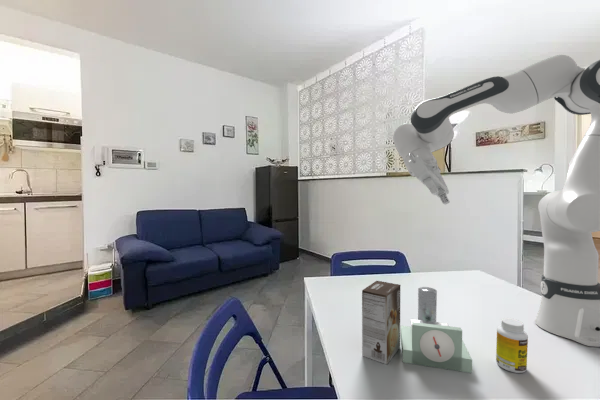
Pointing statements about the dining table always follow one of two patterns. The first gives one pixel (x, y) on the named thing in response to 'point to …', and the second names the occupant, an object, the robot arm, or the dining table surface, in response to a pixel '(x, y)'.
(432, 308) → the cylinder
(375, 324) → the coffee box
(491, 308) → the dining table surface
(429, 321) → the grey square slab
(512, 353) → the supplement bottle
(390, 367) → the dining table surface
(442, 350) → the scale
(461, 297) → the dining table surface
